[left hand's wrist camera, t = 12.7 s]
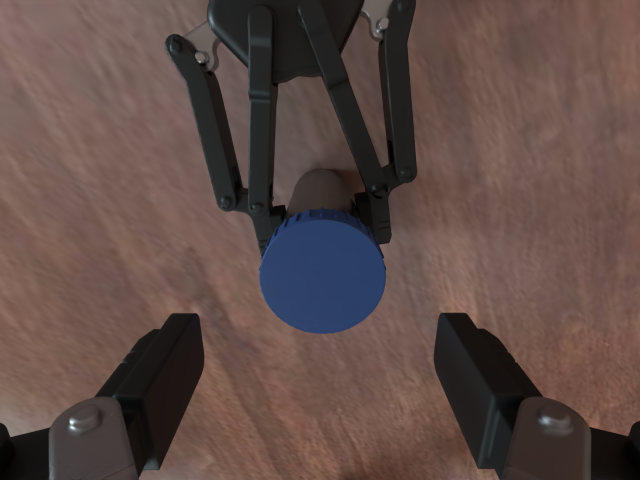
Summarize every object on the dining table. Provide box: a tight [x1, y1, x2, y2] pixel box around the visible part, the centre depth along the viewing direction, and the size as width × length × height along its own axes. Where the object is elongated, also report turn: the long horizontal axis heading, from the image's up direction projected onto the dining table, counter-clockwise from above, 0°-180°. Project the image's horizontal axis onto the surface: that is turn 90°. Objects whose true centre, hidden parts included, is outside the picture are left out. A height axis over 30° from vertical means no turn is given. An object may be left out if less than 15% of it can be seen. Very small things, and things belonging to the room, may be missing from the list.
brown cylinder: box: [282, 169, 362, 224], centre depth 23 cm, size 5×5×15 cm
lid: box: [259, 207, 386, 334], centre depth 16 cm, size 6×6×2 cm
